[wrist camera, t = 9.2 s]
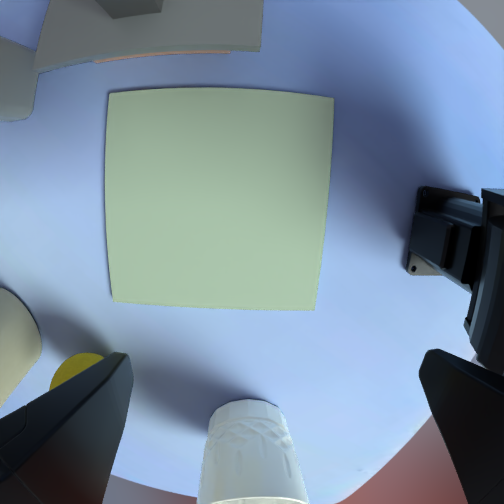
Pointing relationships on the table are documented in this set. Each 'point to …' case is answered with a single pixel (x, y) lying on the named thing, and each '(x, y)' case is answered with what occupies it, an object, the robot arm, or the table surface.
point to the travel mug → (16, 343)
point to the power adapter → (16, 81)
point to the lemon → (73, 367)
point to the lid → (144, 29)
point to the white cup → (250, 457)
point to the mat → (217, 197)
